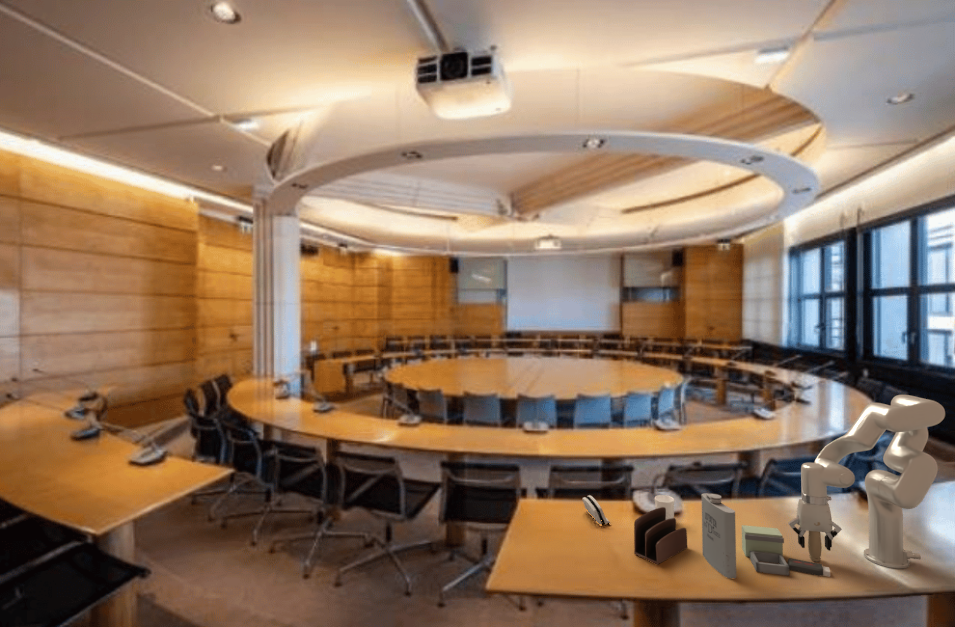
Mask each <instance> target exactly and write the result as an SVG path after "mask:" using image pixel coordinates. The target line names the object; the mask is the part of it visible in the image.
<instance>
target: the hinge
mask: <svg viewBox="0 0 955 627" xmlns="http://www.w3.org/2000/svg"><path fill="white" fill-rule="evenodd" d="M582 502H583V506H584V508H585V510H586V509H587V510H588V512H589V513H590V514H591V515H592V516H593V517H594V518H595V520H596V521H597V522H598V523H599V524H602V523H603V524H604V523H605V524H606V525H608V524H607V523H610V524H611V521H610V520H609V519H608V518H607V516H605V513H604V511H603V508H602V507H601V505H600V504H599V503H598V501H597V500H596V499H595V498H594V497H593V496H592V495H590V494H589V495H587V496H586V497H585V496H584V497H582ZM588 512H587V513H588ZM589 513H588V514H589ZM595 520H594V521H595ZM601 520H602V521H601ZM596 521H595V522H596ZM605 524H604V525H605Z"/></svg>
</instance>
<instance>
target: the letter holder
mask: <svg viewBox="0 0 955 627" xmlns="http://www.w3.org/2000/svg"><path fill="white" fill-rule="evenodd" d="M633 528H634V530H633V533H634V535H633V540H634V542H633V544H634V545H633V548H634V550H633V551H634V552H633V553H634V555H635V554H636V555H635V556H637V555H638V556H637V557H639V556H640V557H639V558H641V557H642V559H643V558H645V559H644V560H646V559H647V560H646V561H648V560H649V561H648V562H650V561H651V562H650V563H652V562H653V563H652V564H654V563H655V564H654V565H657V566H658V565H660V564H661V563H663V562H665V561H667V560H668V559H670V558H672V557H674V556H676V555H677V554H679V553H682V551H684V550H686V549H687V548H688V533H687V532H688V531H687V528H686V527H682V528H678V529H677V519H676V518H675V517H673V518H671V519H667V520H666V508H665V507H661V508H657V509H652V510H650V511H648V512H646V513H644V514H642V515H641V516H639V517H637V518H636V519H635V521H634V524H633ZM659 563H660V564H659Z"/></svg>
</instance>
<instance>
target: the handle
mask: <svg viewBox="0 0 955 627" xmlns="http://www.w3.org/2000/svg"><path fill="white" fill-rule="evenodd" d="M817 523H818V524H817V525H816V524H815V523H814V525H815V526H819V525H820V522H817ZM807 538H808V539H807V547H808V557H809V559H810V561H811V562H814V563H818V562H821V560H822V558H821V556H822V550H823V549H822V547H823V546H822V537H821V532H816V531H808V536H807Z"/></svg>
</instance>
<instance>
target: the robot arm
mask: <svg viewBox="0 0 955 627" xmlns="http://www.w3.org/2000/svg"><path fill="white" fill-rule="evenodd" d="M945 417H946V411H945V408H944V406H943V405H942V404H940V403H939V402H937V401H935V400H932V399H928V398H927V399H926V398H923V397H918V396H914V395H909V394H898V395H895V396H894V397H893V398H892V399H891V401H890V405H889V404H885V403H883V402H882V403H881V402H870V403H868V404H867V405H865V407H864V408H863V409H862V411H861V412H860V413H859V415H858V416H857V418H856V419H855V420H854V422H853V423H852V425H851V426H850V427H849V429H848V431H847V432H846V433H845V434H844V435H842V436H840V437H838V438H836V439H835V440H832V441H831V442H830V443H827V444H826V445H825V446H824V447H823V448H822V450H820V452H819V453H818V455H817V457H816V458H815V460H814V462H804V463H802V464H801V467H800V478H801V480H800V481H801V482H800V483H801V487H800V488H801V498H800V499H798V503H797V508H796V517H795V518H794V519H793V518H792V519H791V520H790V521H788V522H787V524H788V525H789V526H790V528H791V529H792V530H793V531H794V532H795V534H797V543H798V545H800V547H801V548H802V549H805V548H806V545H805V544H806V543H805V541H806V540H805V538H806V537H804V535H805V533H806V532H809V531H816V532H820V533H825V536H824V547H825V549H826V550H827V551H829V552H830V551H831V548H832V547H833V540H834V538H835V537H836V536H838V534H839V533H840V532H841V531H842V530H843V529H842V528H841V526H839V525H838V523H837V524H836V523H835V522H834V521H833V520H832V519H833V517H832V512H831V507H830V505H829V503H828V501H832V496H831V495H830V496H829V495H828V494H827V493H828V491H827V490H828V488H827V487H835V488H841V489H843V488H844V489H846V488H848V487H851V486H852V485H853V484H855V480H856V477H855V474H854V473H853V471H852V470H851V469H849V468H848V467H846V466H844V465H843V464H839V463H840V462H841V460H842V459H844V458H845V457H846V456H848V455H850V454H854V453H860V452H866V451H870V450H872V449H873V448H874V447H875V446H876V444H877V443H878V441H879V440H880V438H881V437H882V436H883V435H884V433H885V432H886V430H887V431H890V432H894V433H895V434H894V436H893V437H892V440H891V441H890V442H889V445H888V446H887V447H886V450H885V451H884V454H883V457H882V458H883V463H884V464H885V465H886V466H887V467H888V468H889V469H891V470H893V471H896V472H898V473H900V475H896V474H894V473H893V472H890V471H887V470H883V469H873V470H870V471H869V472H868V473H867V474H866V476H865V478H864V487H865V492H866V495H867V504H868V505H867V506H868V548H865V549H864V550H863V556H864V557H865V558H866V559H867V560H868V559H869V561H870V562H872V563H874V564H876V563H877V565H880V566H883V567H887V568H891V569H907V568H909V567H910V560H911V559H912V560H921V559H922V557H921V554H920V553H917V552H912V551H913V550H907V549H904V514H903V513H904V512H903V511H904V510H903V509H905V510H912V509H916V508H917V507H918V506H919V505H920V504H921V503H922V502H923V500H924V498H925V497H926V495H927V493H928V492H929V490H930V488H931V487H932V485H933V482H935V480H936V477H937V475H938V472H939V471H938V468H939V467H938V463H937V461H936V459H935V458H934V457H933V456H932V455H930V454H928V453H926V452H924V449H925V446H926V444H927V442H928V439H929V430H928V428H929V427H933V426H936V425H938V424H940V423H941V422H942V421H943V420H944V419H945ZM817 522H820V525H819V526H815V525H814V523H815V524H816V525H817V524H818V523H817ZM795 525H798V526H799V527H796V526H795Z"/></svg>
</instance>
